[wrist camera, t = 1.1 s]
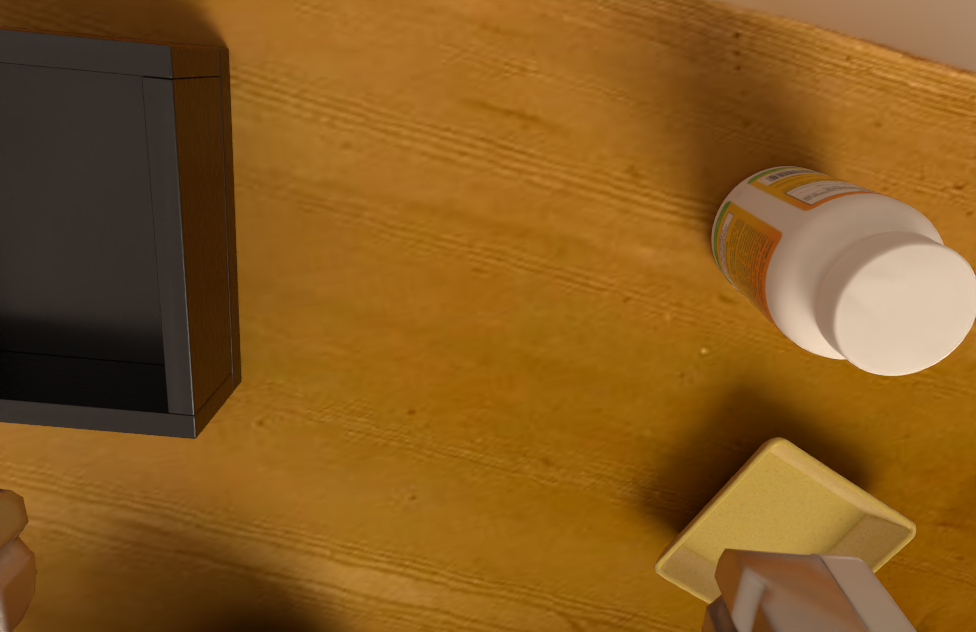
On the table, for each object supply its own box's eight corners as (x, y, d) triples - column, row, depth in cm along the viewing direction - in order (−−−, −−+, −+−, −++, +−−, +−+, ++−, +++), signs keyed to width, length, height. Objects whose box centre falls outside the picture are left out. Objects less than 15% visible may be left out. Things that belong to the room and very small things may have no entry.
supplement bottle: (767, 318, 29) (887, 434, 20) (680, 235, 28) (767, 319, 19) (870, 226, 28) (1048, 306, 19) (784, 134, 27) (930, 173, 18)
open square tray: (-146, 11, 26) (-290, 1, 21) (229, 47, 26) (170, 45, 21) (-74, 354, 31) (-178, 407, 26) (242, 382, 31) (195, 439, 26)
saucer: (899, 502, 33) (925, 530, 31) (774, 620, 35) (791, 653, 33) (761, 410, 31) (778, 433, 29) (640, 540, 34) (649, 570, 32)
